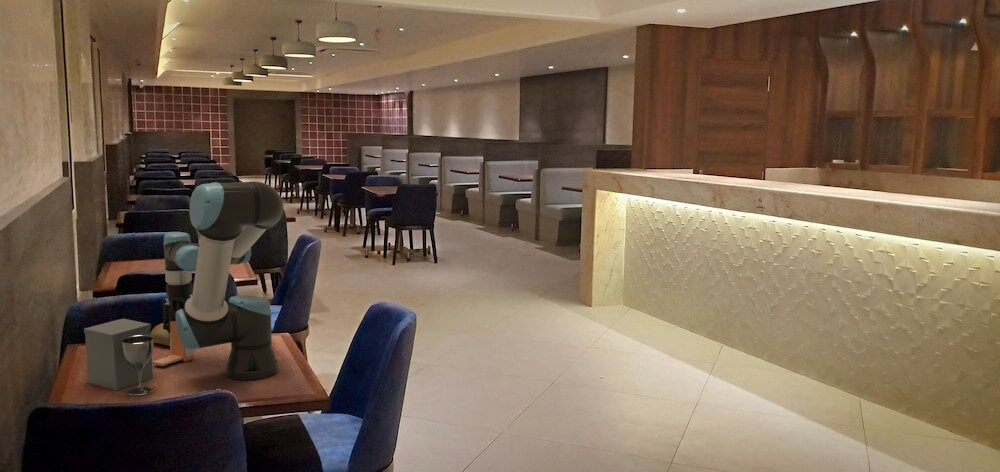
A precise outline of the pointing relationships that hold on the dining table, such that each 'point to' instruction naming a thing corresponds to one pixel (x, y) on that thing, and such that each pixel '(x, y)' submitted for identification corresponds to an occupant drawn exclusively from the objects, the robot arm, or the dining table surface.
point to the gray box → (113, 354)
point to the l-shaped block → (174, 348)
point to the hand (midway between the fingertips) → (182, 353)
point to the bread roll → (160, 335)
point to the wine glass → (138, 358)
